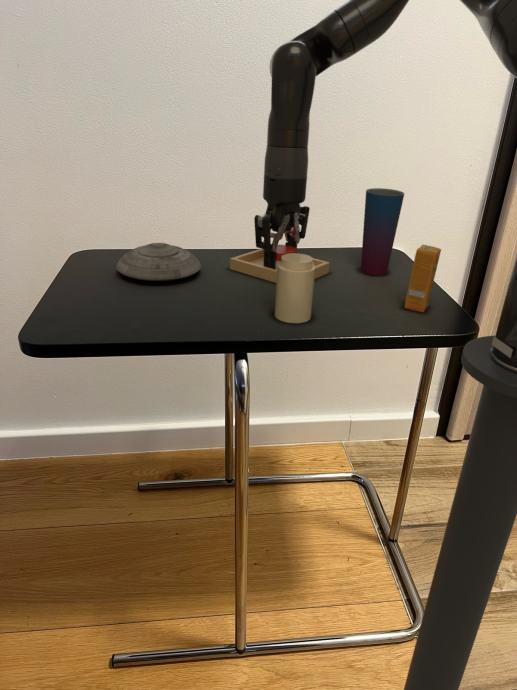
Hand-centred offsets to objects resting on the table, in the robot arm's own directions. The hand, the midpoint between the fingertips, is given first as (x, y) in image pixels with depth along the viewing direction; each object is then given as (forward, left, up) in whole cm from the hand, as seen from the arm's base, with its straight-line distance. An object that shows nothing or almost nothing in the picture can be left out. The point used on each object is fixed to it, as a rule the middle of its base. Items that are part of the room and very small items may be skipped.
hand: (279, 265), depth 101 cm
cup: (-13, -13, -1) cm, 18 cm away
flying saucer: (+15, +17, -1) cm, 22 cm away
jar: (-14, +16, -1) cm, 21 cm away
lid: (0, 0, +3) cm, 3 cm away
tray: (0, 0, -1) cm, 1 cm away
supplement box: (-27, -1, -1) cm, 27 cm away
